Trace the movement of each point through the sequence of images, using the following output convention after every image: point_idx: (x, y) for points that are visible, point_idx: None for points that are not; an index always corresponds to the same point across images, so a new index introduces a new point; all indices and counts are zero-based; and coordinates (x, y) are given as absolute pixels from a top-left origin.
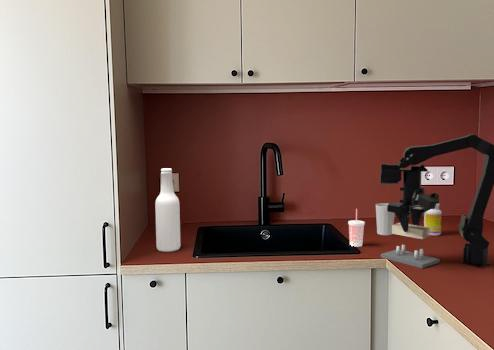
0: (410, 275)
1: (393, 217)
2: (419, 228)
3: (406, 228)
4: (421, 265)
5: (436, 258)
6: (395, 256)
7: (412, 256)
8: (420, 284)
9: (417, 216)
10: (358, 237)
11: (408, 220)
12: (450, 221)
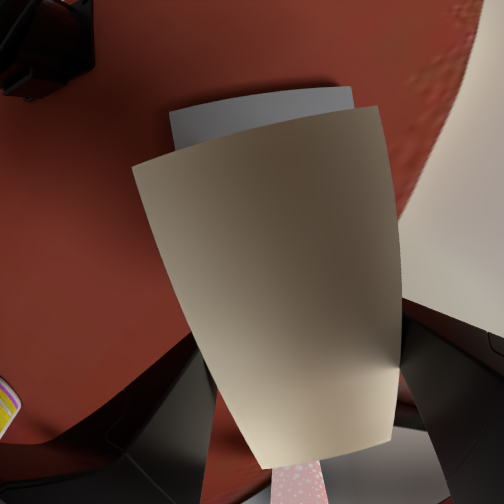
0: (453, 70)
1: None
2: (324, 209)
3: (428, 311)
4: (350, 90)
5: (175, 128)
6: None
7: None
8: (474, 7)
9: (158, 458)
10: (309, 467)
11: (490, 357)
12: None
